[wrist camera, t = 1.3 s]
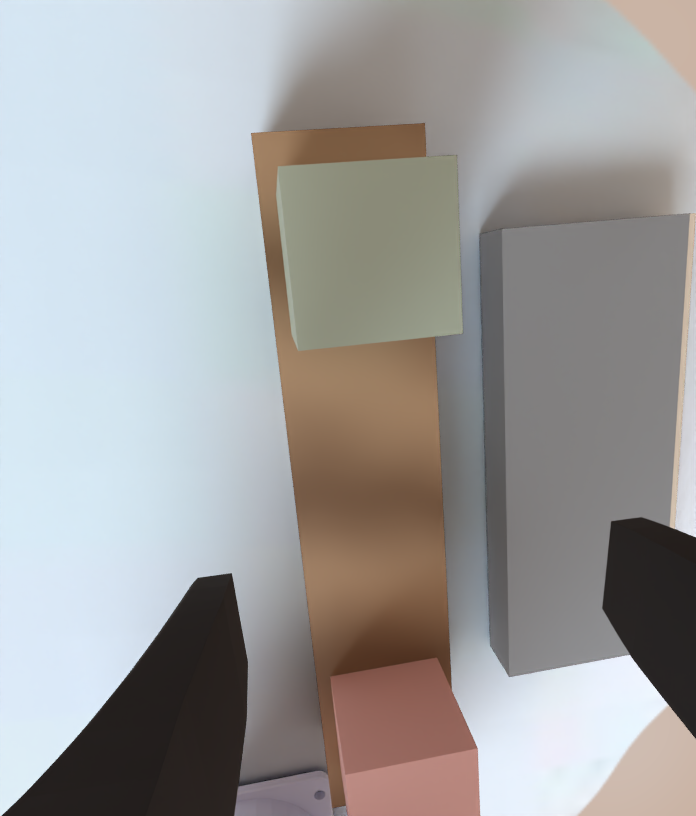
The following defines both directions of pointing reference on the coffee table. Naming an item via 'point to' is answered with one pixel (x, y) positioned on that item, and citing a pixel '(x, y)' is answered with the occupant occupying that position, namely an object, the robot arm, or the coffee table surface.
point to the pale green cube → (371, 250)
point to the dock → (577, 419)
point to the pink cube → (404, 743)
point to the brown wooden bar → (359, 460)
